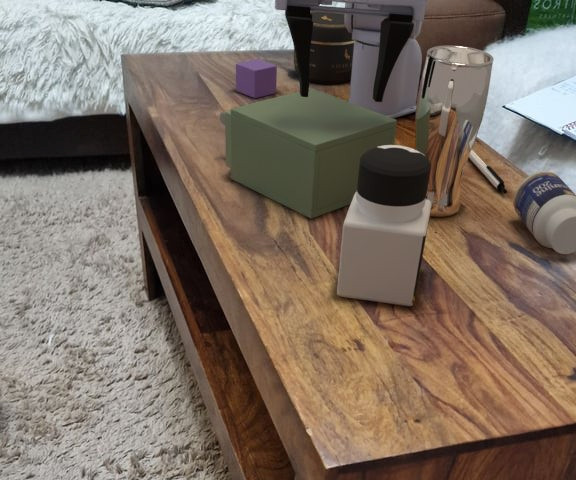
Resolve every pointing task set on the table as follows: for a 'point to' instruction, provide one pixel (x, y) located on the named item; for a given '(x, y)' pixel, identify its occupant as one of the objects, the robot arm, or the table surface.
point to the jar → (329, 50)
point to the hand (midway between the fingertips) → (340, 97)
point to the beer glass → (450, 118)
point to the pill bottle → (548, 210)
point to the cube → (256, 78)
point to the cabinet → (305, 148)
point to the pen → (488, 172)
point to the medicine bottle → (386, 227)
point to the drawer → (227, 134)
